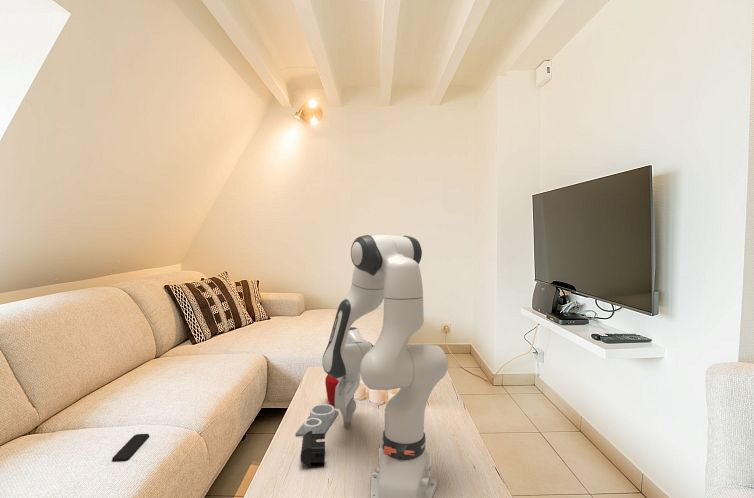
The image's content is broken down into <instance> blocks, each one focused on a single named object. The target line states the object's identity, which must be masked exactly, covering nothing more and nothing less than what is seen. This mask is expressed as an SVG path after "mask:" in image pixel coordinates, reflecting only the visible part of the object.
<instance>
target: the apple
mask: <svg viewBox="0 0 754 498" xmlns="http://www.w3.org/2000/svg"><path fill="white" fill-rule="evenodd" d="M324 383H325V391H326V392H325V393H326V398H327V402H329V404H330V405H332V406H333V407H335V389H336V386H337V384H338V383H339V380H337V379H335V378H333V377H331V376H329V375H328V374H327V375H326V377H325V382H324Z"/></svg>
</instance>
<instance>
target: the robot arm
mask: <svg viewBox="0 0 754 498" xmlns="http://www.w3.org/2000/svg"><path fill="white" fill-rule="evenodd" d="M422 256H423V250H422V246H421V244H420V242H419V240H418V239H417V238H415V237H412V236H409V235H396V234H395V235H393V234H385V233H384V234H381V233H380V234H372V235H371V234H370V235H369V234H365V235H360V236H358V237H356V238H355V239H354V241H353V242H352V244H351V247H350V258H351V262H352V264H353V266H354V269H353V273H352V280H351V285H350V288H349V291H348V293H347V295H346V297H345V298H344V299H343V300H342V301H341V302H339V305H338V308H337V310H336V311H337V312H336V314H335V317H334V321H333V324H332V328H331V332H330V336H329V339H328V340H329V341H328V344H327V346H326V348H325V350H324V353H323V356H322V367H323V371H324V372H325V373H326V374H327V375H329V376H331V377H333V378H335V379H337V380H339V383H338V384H337V386H336V389H335V406H334V408H335V410H336V409H338V410H340V409H341V410H342V413H341V415H342V417H343V416H346V415H347V414H348V409H347V405H348V403H349V402H350V400H351V399H352V398H353V399H354V397H355V393H356V392H357V390H358V389H359V387H360V382H361V380H362V382H363V384H364V385H365V386H366V387H367V388H368V389H370V390H374V391H375V390H377V391H378V390H379V391H390V390H395V389H399V390H398V391H397V393H396V394H395V395H393V396H392V397H391V398H390V399H389V400H388V401H387V403H386V404H385V408H384V430H383V432H382V439H381V440H382V441H381V442H382V443H381V444H382V445H381V447H380V448H378V467H376V468H375V470H374V471H373V472H372V473H371V475H370V486H369V487H370V490H369V494H370V495H369V498H433V497H434V494H435V492H436V491H437V488H438V482H437V480H436V479H434V478H432V477H431V476H432V475H431V474H432V473H431V454H430V453H429V452H428V451H427V449H426V443H427V442H426V441H427V440H426V433H425V431H424V430H425V417H426V416H425V413H426V407H427V405H428V404H427V403H428V401H429V398H430V396H431V394H432V392H433V390H434V388H435V387H436V386H437V384H438V383H439V382H440V381H441V380H442V379H443V378H444V377H445V376H446V374H447V373H448V368H449V361H448V357H447V355H446V353H445V350H443V348H442V347H441V346H439V345H436V344H430V343H419V344H410V345H409V344H408V343H409V341H410V339H411V337H412V336H413V335H415V333H417V332H419V331H420V330H421V329H422V327H423V325H424V320H425V319H424V318H425V317H424V316H425V315H424V290H423V289H424V287H423V280H422V274H421V269H420V266H419V264H420V263H421V260H422ZM382 303H383V320H382V321H383V322H382V327H381V331H380V334H379V336H378V338H377V340H376V341H375V344H372V342H370V341H367V340H365V339H364V337H362V335H361V333H360V330H359V328H357V327H355V326H353V324H354V323H355V322H356V321H357V320H359V319H360V318H362V317H363V316H365V315H368V314H370V313H372V312H373V311H375V310H377V309H378V308H379V307H380V306H381V305H382ZM352 326H353V327H352ZM354 400H355V399H354Z"/></svg>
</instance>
